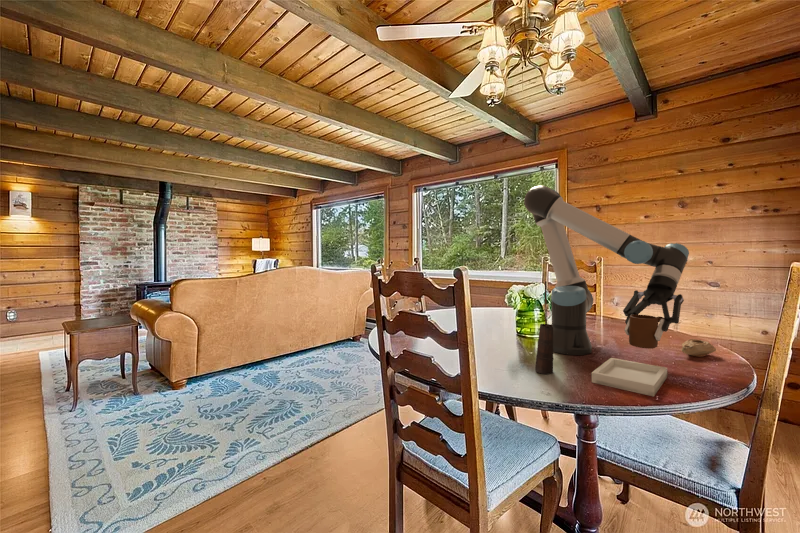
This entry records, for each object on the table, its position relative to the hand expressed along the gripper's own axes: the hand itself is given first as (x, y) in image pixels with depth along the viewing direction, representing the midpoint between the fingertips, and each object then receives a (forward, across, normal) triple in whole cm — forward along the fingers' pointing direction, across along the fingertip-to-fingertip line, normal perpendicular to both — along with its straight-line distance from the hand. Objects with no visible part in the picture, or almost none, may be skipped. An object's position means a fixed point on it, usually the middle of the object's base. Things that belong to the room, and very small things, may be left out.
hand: (641, 335), depth 110 cm
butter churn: (+28, +15, +13) cm, 34 cm away
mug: (0, -1, -5) cm, 5 cm away
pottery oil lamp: (-11, -6, -25) cm, 28 cm away
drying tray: (+18, -3, +4) cm, 19 cm away
